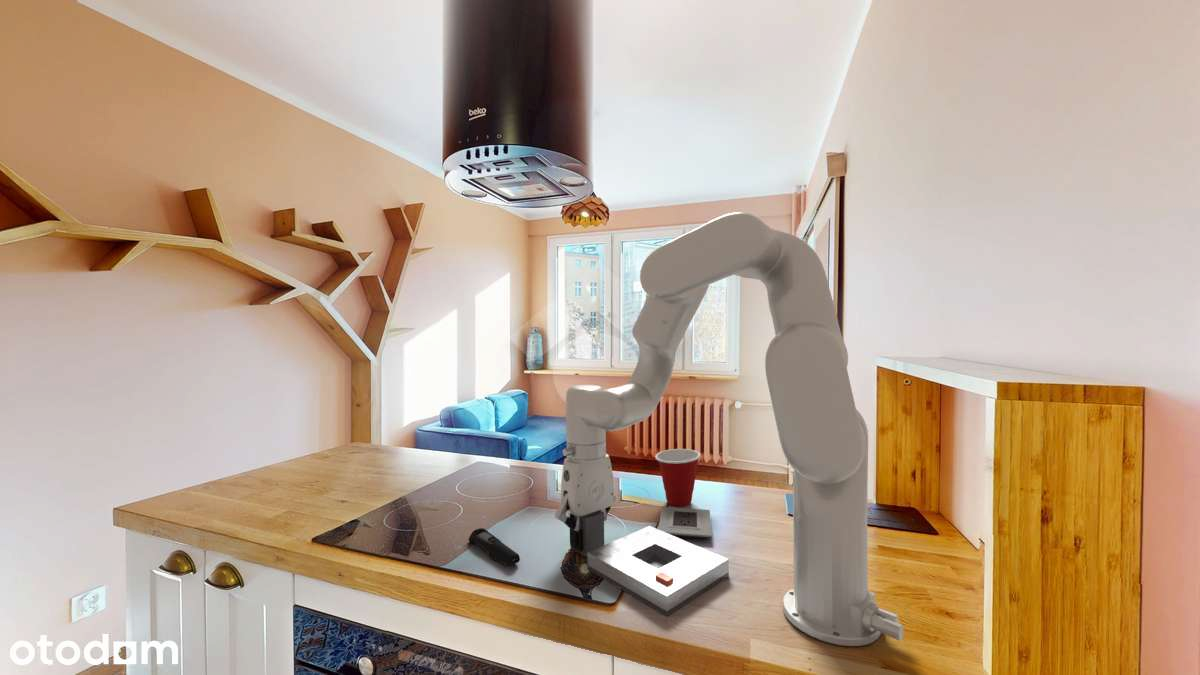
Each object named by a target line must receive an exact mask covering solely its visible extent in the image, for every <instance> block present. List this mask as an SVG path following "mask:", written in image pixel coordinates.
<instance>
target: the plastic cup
mask: <svg viewBox="0 0 1200 675" xmlns="http://www.w3.org/2000/svg"><path fill="white" fill-rule="evenodd" d="M654 456H655V460H656V461H657V463H658V465H659V469H660V473H661V478H662V484H663V488H664V489H663V490H664V492H665V493H664V494H665V500H666V503H667V504H668V505H670V506H671V507H675V508H686V507H688V506H690V505H691V504H692V501H693V500H692V499H693V495H694V494H693V493H694V490H695V482H696V475H697V469H698V463H699V459H700V457H701V453H700V452H699V451H697V450H695V449H689V448H674V449H673V448H672V449H666V450H661V451H659V452H657V453H655V455H654Z"/></svg>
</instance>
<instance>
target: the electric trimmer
mask: <svg viewBox="0 0 1200 675" xmlns="http://www.w3.org/2000/svg"><path fill="white" fill-rule="evenodd" d="M468 543H469V544H470V545H472V544H475V545H476V546H478V547H479V548H481V549H483V550H484V551H485V552H487V555H488V557H489V558H491V559H493V560H495V561H496V562H499V563H501V564H503V565H505V566H509V567H510V566H513V565H515V564H518V563H520V561H521V557H520V555H519V554H518V553H517V552H516V551H514V550H513V549H511V547H509V546H508V545H506V544H505V543H503V542H502V540H501V539H499V538H498V537H496V536H495V535H493V534H492V533H491V532H489V531H488V530H487V529H486V528H481V527H480V528H476V529H475V530H473V531H472V532H471V533H470V535H469V538H468Z"/></svg>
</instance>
